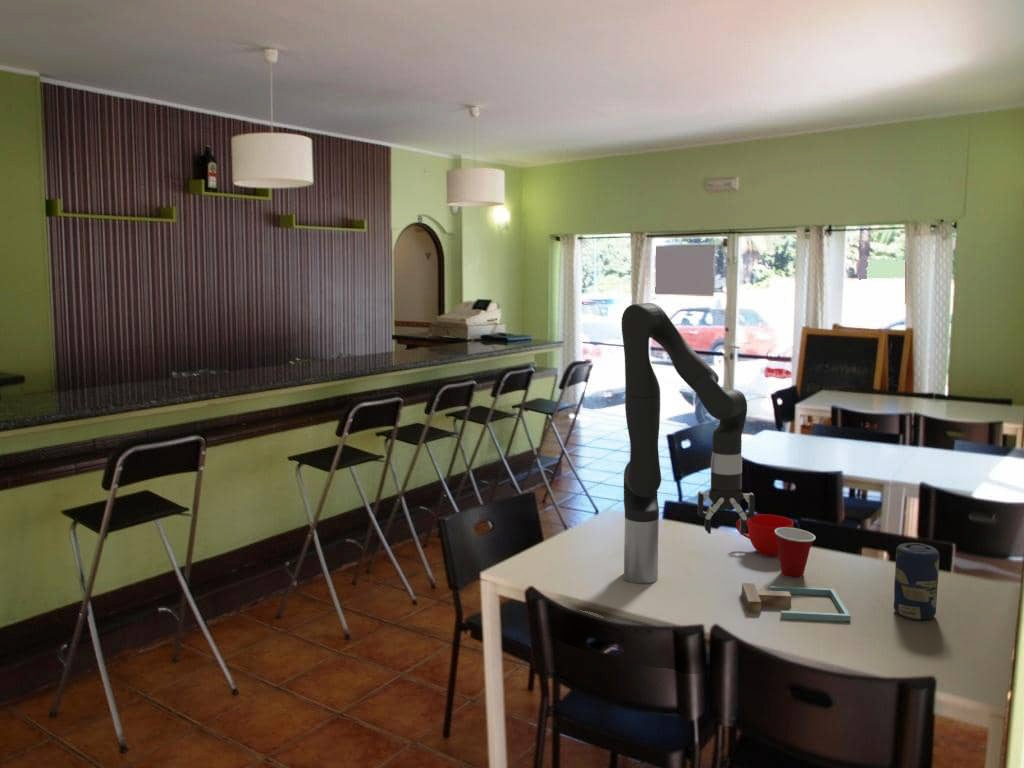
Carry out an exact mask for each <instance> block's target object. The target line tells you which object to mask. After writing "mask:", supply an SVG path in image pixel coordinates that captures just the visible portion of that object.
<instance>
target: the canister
mask: <svg viewBox="0 0 1024 768" xmlns="http://www.w3.org/2000/svg"><path fill="white" fill-rule="evenodd" d="M895 552H896V553H895V571H894V573H895V574H894V583H893V584H894V587H893V588H894V589H893V593H894V594H893V597H894V598H893V609H894V610H895V612H896V613H898V614H899V615H901V616H903V617H905V618H909V619H914V620H929V619H931V618H934V617H935V615H936V614H937V603H938V602H937V601H938V586H939V585H938V584H939V574H940V573H939V571H940V569H939V568H940V567H939V566H940V552H939V550H938V549H937V548H935V547H934V546H931V545H928V544H925V543H920V542H905V543H901V544H898V546H897V547H896V550H895Z"/></svg>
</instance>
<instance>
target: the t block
mask: <svg viewBox="0 0 1024 768" xmlns="http://www.w3.org/2000/svg"><path fill="white" fill-rule="evenodd" d="M741 584H742V585H741V596H742V598H743V600H744V601H743V602H744V604H745V608H746V610H747V613H748V614H749V613H750V614H761V612H762V607H772V608H792V594H790V592H788V591H770V590H762V589H761V590H760V589H757V588H756V585H755V583H754V582H753V583H752V582H742V583H741Z"/></svg>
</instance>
